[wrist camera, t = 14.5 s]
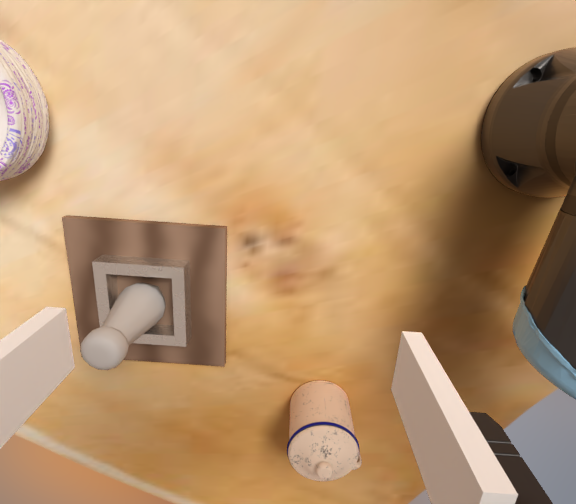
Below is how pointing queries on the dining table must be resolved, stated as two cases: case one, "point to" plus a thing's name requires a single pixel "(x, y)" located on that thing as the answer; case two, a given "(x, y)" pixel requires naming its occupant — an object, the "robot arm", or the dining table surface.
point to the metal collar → (147, 267)
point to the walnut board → (155, 279)
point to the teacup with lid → (322, 432)
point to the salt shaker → (123, 325)
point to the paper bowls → (20, 115)
